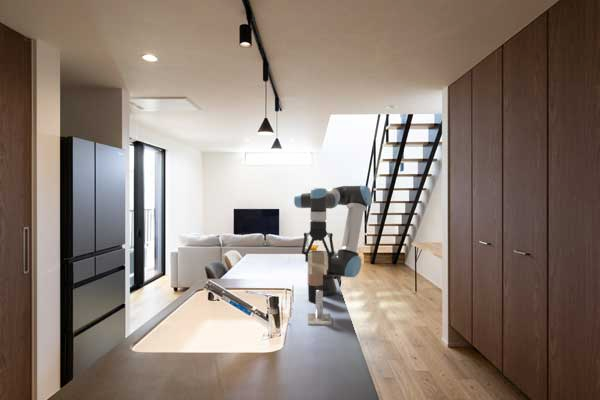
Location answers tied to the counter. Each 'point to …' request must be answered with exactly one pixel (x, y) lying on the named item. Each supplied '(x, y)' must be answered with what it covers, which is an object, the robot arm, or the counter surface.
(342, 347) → the counter surface
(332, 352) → the counter surface
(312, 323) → the post stand
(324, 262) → the birch sleeve
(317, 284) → the travel mug
